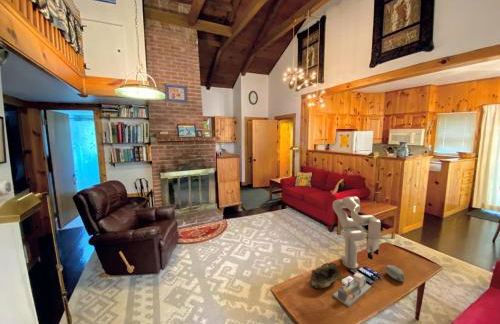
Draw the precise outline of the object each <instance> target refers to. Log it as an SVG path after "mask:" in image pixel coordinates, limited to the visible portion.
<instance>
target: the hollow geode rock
mask: <svg viewBox="0 0 500 324" xmlns="http://www.w3.org/2000/svg"><path fill="white" fill-rule="evenodd" d="M340 277H341V273H340V271H339V266H337V265H336V263H333V262H330V263H328V262H327V263H326V262H325V263H323V264H322V265H321V266H320V267H318V268H316V269H313V270H311V277H310V279H309V282H308V283H309V286H310V287H311V288H314V289H318V290H320V289H323V288H327V287H330V286H331V285H332V283H334V282H335V281H336V280H337V279H340Z"/></svg>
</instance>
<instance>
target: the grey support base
mask: <svg viewBox="0 0 500 324" xmlns="http://www.w3.org/2000/svg"><path fill="white" fill-rule="evenodd" d="M353 283H354V278H353V279H352V280H351V281H349V280H348V281H347V283H346V284H345V285H344V286H343V285H341V287H340V288H338V290H337V291H336V292H334V293H333V295H332V296H333V297H334V298H335V299H336V300H338V301H339V302H341V303H342V304H344V305H345V306H347V307H348V308H350V307H351V306H353V304H355V303H356V302H358V300H359V299H361V298H362V297H363V296H364V295H365V294H367V292H369V291H370V290H372V285H370V284H368V283H367V278H366V277H364V285H363V286H362V287H361V288H359V287H357V286H356V287H355V288H354V289H352V290H351V291H350V293H347V294H346V291H345V289H346V288H348V287H349V286H350V285H352V284H353Z"/></svg>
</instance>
